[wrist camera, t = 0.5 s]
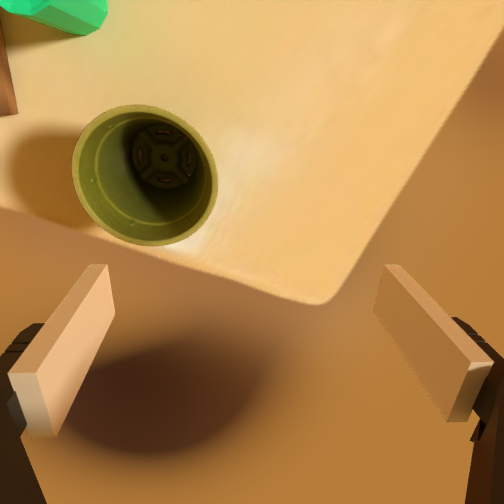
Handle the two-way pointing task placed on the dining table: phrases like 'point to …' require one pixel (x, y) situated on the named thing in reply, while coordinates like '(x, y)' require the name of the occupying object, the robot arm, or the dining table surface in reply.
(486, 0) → the dining table surface
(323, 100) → the dining table surface
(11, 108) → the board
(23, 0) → the candle
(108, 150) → the plant pot
